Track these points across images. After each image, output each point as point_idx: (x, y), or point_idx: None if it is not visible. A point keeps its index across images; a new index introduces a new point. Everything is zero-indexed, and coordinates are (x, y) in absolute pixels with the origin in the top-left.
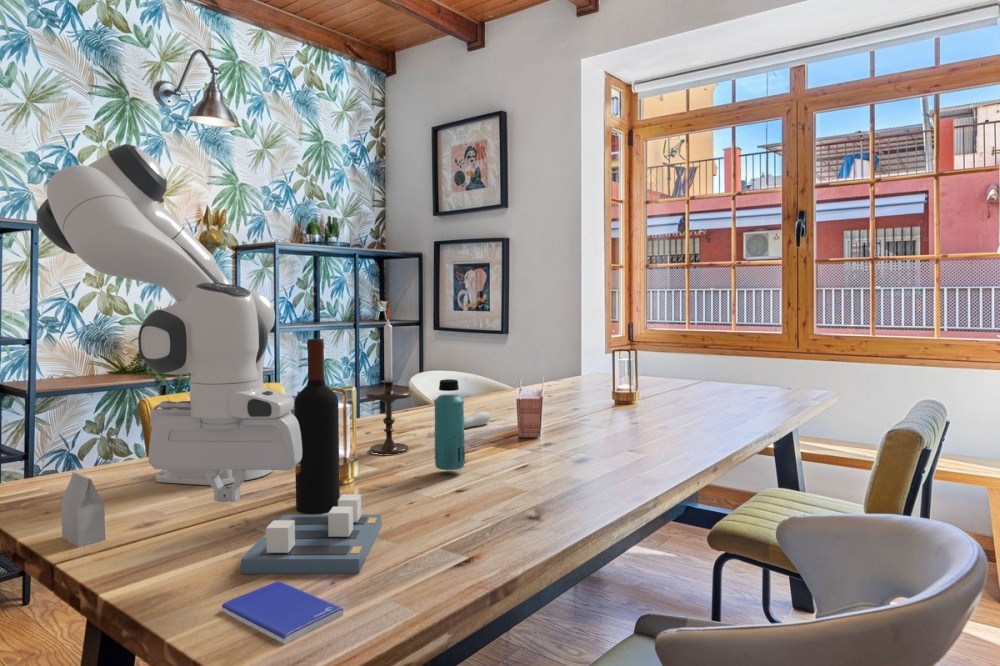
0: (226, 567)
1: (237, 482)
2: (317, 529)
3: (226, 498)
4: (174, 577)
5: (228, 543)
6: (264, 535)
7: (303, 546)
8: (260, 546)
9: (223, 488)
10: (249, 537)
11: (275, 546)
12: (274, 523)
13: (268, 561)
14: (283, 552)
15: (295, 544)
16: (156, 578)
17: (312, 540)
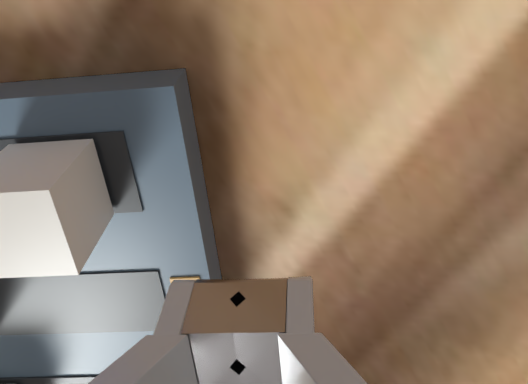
0: (270, 119)
1: (112, 376)
2: (58, 343)
3: (226, 285)
4: (432, 18)
5: (359, 297)
6: None
7: None
8: (167, 207)
9: (249, 348)
10: None
11: (46, 151)
12: (48, 241)
13: (65, 90)
14: (27, 143)
15: None
16: (504, 3)
17: None
